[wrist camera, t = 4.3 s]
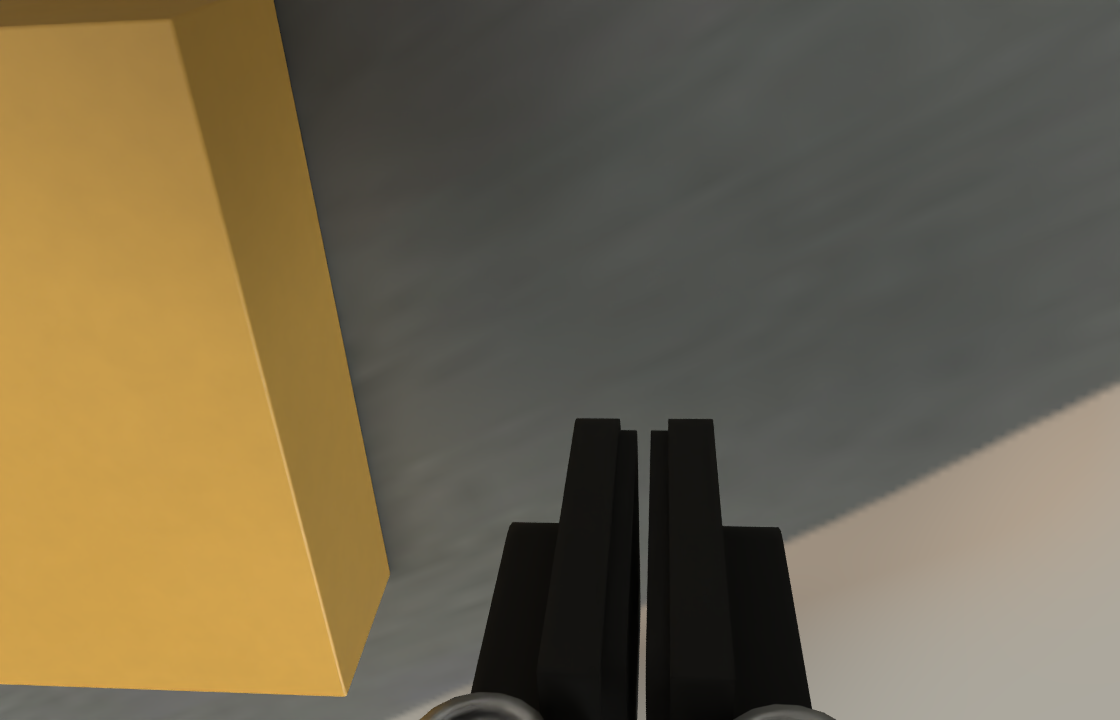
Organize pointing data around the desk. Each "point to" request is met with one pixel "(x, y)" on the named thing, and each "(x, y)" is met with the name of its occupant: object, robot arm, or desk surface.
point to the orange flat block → (171, 364)
